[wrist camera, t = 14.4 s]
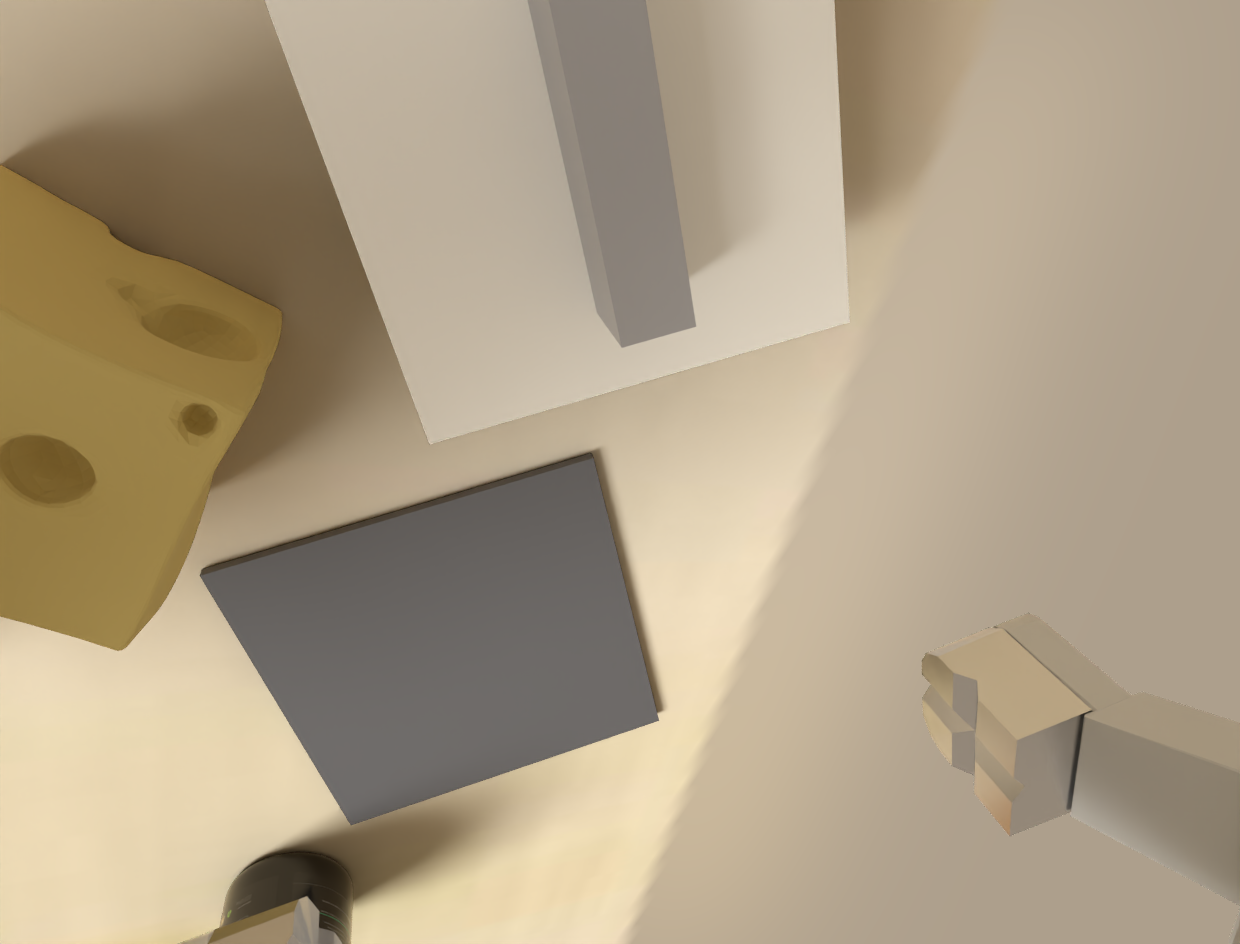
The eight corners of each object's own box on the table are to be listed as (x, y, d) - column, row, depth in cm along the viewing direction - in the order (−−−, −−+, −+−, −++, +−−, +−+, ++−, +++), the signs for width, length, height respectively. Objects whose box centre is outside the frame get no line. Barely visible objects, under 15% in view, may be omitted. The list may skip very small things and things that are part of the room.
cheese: (-10, 151, 27) (-199, 211, 18) (306, 311, 31) (273, 417, 23) (-104, 405, 30) (-305, 558, 21) (198, 515, 34) (134, 676, 26)
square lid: (428, 437, 29) (433, 494, 25) (228, -104, 20) (194, -130, 17) (842, 317, 30) (900, 355, 27) (813, -226, 22) (892, -273, 19)
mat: (351, 817, 45) (350, 825, 44) (202, 569, 35) (199, 575, 35) (656, 714, 47) (658, 720, 46) (591, 453, 37) (593, 458, 37)
